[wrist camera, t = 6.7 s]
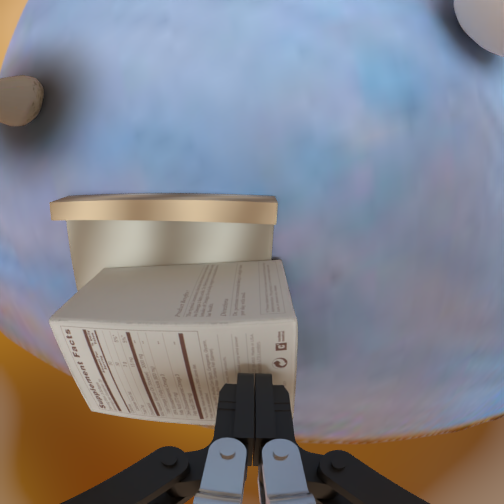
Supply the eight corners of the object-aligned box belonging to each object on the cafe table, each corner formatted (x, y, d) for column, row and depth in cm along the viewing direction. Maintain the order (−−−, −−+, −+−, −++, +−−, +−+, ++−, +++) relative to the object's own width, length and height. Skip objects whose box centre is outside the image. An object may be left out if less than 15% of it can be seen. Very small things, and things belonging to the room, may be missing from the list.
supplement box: (284, 349, 21) (126, 348, 21) (283, 256, 18) (101, 264, 19) (293, 427, 14) (90, 413, 14) (299, 320, 12) (43, 317, 12)
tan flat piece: (274, 196, 18) (277, 202, 16) (261, 372, 23) (262, 392, 20) (68, 196, 18) (49, 202, 15) (98, 354, 22) (87, 371, 20)
